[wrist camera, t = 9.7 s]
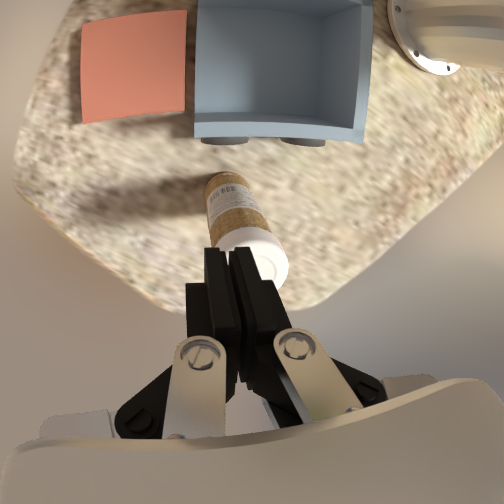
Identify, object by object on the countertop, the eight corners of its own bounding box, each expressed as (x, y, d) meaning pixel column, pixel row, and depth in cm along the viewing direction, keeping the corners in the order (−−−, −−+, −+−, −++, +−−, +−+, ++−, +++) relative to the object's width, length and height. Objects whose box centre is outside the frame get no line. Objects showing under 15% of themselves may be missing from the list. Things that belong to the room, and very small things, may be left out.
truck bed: (328, 2, 18) (372, -17, 12) (319, 139, 26) (360, 161, 20) (199, -12, 16) (201, -46, 10) (195, 137, 24) (194, 158, 18)
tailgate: (187, 9, 17) (82, 24, 14) (184, 110, 22) (82, 124, 19) (186, 13, 18) (85, 26, 15) (184, 109, 23) (86, 122, 20)
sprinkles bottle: (208, 217, 29) (220, 311, 18) (200, 175, 26) (205, 251, 15) (252, 208, 29) (291, 296, 18) (247, 166, 27) (288, 235, 16)
